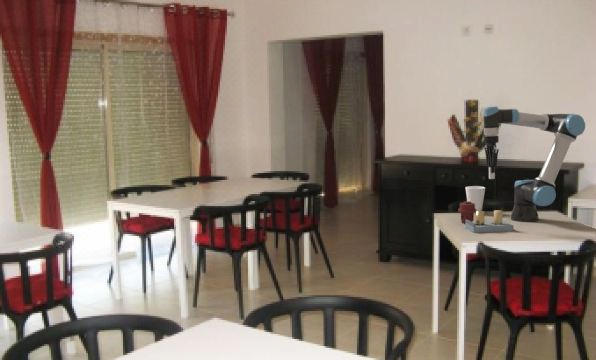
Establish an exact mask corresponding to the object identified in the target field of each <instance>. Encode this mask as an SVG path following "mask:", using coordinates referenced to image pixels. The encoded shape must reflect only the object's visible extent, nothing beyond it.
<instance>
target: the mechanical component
mask: <svg viewBox="0 0 596 360" xmlns="http://www.w3.org/2000/svg"><path fill="white" fill-rule="evenodd" d="M457 210H458V211H457V212H459V213H460V221H461V223H462V224H465V220H466V219H467V220H469V221H471V222H473V221H474V218H475V217H474V215H475V214H474V213H476V209H475V204H474V203H471V202H470V201H467V200H466V201H463V202H460V203H459V208H458V209H457Z"/></svg>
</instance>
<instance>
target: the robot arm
mask: <svg viewBox="0 0 596 360" xmlns="http://www.w3.org/2000/svg"><path fill="white" fill-rule="evenodd" d="M502 124H503V125H510V126H511V125H512V126H518V127H519V126H520V127H527V128H528V127H529V128H535V129H539V130H540V131H544V132H548V133H551V134H554V136H555V138H554V140H553V143H552V145H551V147H550V150H549V152H548V155H547V157H546V159H545V162H544V163H543V166H542V168H541V170H540V172H539V175H538V177H535V178H534V179H523V180H516V181H515V182H514V187H513V188H514V198H513V199H514V201H513V202H514V204H513V205H514V206H513V208H512V211H511V214H510V220H512V221H516V222H525V223H526V222H527V223H528V222H529V223H530V222H536V221H539V213H538V210H537V207H536V206H539V207H547V206H550V205H551V204H552V203H554V201H555V199H556V197H557V193H556V190H555V189H556V183H555V182H556V179H557V176H558V174H559V171H560V170H561V168H562V165H563V163H564V160H565V158H566V156H567V153H568V151H569V149H570V146H571V144H572V143H574V142H575V141H576V140H577V138H578V136H581V135H582V134H583V133H584V132H585V130H586V122H585V119H584V118H583V117H582V115H580V114H575V113H550V114H549V113H542V114H533V113H528V112H527V113H526V112H520V111H519V110H518V109H516V108H507V109H503V108H501V109H500V108H499V107H498V106H486V107H484V108H483V135H484V136H483V142H484V144H486V147H484V153H485V161H486V166H487V167H488V180H495V177H496V174H495V172H496V171H495V169H496V168H495V167H497V165H498V158H499V157H498V155H499V151H500V149H498V148H497V143H499V139H500V138H499V133H500V131H499V125H502Z"/></svg>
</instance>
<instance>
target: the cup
mask: <svg viewBox="0 0 596 360" xmlns="http://www.w3.org/2000/svg"><path fill="white" fill-rule="evenodd" d="M485 192H486V187H484V186H480V185H472V186H471V185H469V186H465V193H466V194H465V195H466V201H470V202H471V203H474V204H475V209H476V211H482V210H483V205H484V204H483V203H484V199H485ZM474 215H476V213H474Z"/></svg>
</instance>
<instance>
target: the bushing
mask: <svg viewBox="0 0 596 360" xmlns="http://www.w3.org/2000/svg"><path fill="white" fill-rule="evenodd" d="M485 213H486V212H485V211H483V210H481V211H476V214H475V222H476V225H477V226H483V225H484V222H485V215H486V214H485Z"/></svg>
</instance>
